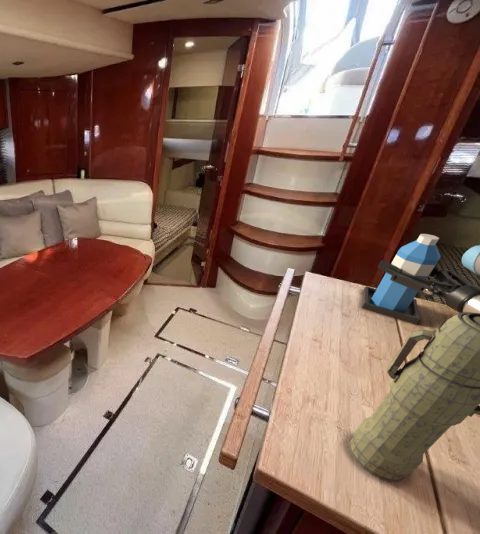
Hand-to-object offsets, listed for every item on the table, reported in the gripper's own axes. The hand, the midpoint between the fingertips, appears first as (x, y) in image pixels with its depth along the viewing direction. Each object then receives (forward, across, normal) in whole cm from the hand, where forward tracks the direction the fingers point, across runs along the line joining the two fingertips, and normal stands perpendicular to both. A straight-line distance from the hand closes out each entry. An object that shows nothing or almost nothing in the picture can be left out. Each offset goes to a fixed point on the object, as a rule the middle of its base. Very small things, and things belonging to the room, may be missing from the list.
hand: (397, 263), depth 98 cm
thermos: (-51, -46, -15) cm, 70 cm away
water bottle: (-4, 0, -14) cm, 15 cm away
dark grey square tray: (-4, 0, -14) cm, 15 cm away
